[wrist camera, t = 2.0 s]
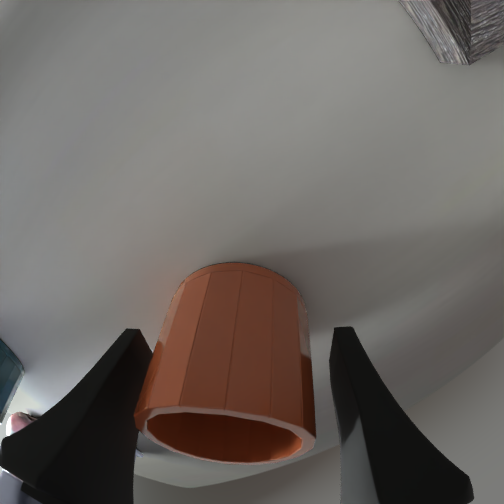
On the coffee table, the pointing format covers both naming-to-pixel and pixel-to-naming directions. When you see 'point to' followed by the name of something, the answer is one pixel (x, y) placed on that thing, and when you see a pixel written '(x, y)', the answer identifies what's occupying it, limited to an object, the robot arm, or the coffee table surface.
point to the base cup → (8, 377)
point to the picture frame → (459, 27)
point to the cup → (232, 370)
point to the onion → (18, 422)
